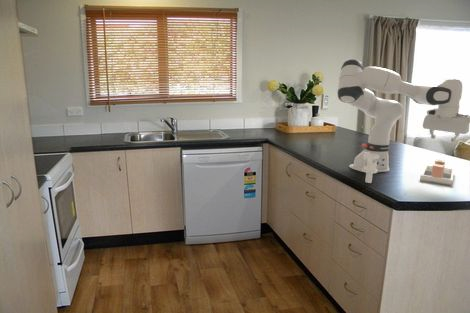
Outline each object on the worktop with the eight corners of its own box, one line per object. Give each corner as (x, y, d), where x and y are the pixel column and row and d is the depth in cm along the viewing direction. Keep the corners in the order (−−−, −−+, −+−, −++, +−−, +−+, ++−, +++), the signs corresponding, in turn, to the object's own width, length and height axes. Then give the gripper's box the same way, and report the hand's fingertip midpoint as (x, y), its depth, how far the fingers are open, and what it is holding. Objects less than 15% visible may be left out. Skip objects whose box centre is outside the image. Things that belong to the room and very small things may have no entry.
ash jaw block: (433, 173, 191) (435, 161, 189) (433, 171, 194) (435, 159, 193) (442, 175, 188) (444, 162, 187) (443, 173, 192) (445, 160, 191)
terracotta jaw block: (442, 178, 182) (444, 165, 180) (440, 180, 178) (442, 167, 177) (432, 176, 185) (434, 163, 183) (430, 178, 181) (432, 165, 180)
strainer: (360, 179, 181) (363, 150, 177) (375, 180, 179) (378, 151, 175) (361, 183, 174) (364, 153, 170) (376, 184, 172) (380, 154, 168)
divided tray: (451, 186, 173) (452, 180, 172) (419, 180, 180) (420, 175, 179) (453, 174, 193) (454, 169, 193) (424, 170, 201) (425, 165, 200)
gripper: (474, 114, 168) (468, 143, 171) (429, 110, 183) (424, 136, 186) (469, 115, 164) (463, 144, 167) (423, 110, 179) (419, 137, 182)
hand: (442, 140), depth 177 cm, fingers open, 8 cm apart
